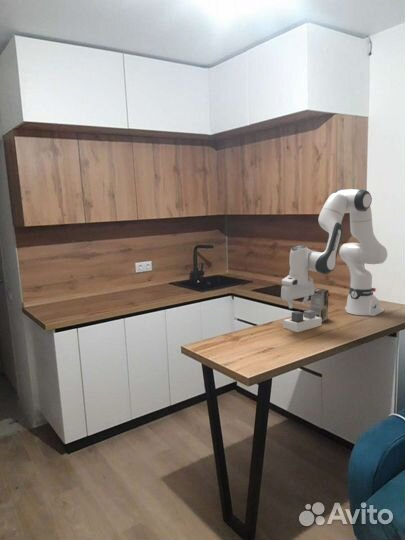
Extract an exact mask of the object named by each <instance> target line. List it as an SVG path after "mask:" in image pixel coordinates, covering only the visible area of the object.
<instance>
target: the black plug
mask: <svg viewBox="0 0 405 540" xmlns="http://www.w3.org/2000/svg"><path fill="white" fill-rule="evenodd" d="M303 315H304V311H303V312H301V311H299V310H296V311H292V312H291V318H292V320H291V321H293V322H297V323H299V322H303Z"/></svg>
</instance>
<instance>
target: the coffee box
mask: <svg viewBox="0 0 405 540" xmlns="http://www.w3.org/2000/svg"><path fill="white" fill-rule="evenodd" d="M309 304H310V308H309V310H311V311H314V312H315V316H317V317H320V318H322V323H323V322H325V321H326V320H328V318H329V317H328V315H329V289H325V288H319V287H318V288H314V294H313V295H310V303H309Z"/></svg>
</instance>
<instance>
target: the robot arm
mask: <svg viewBox="0 0 405 540" xmlns="http://www.w3.org/2000/svg"><path fill="white" fill-rule="evenodd" d="M372 199H373V198H372V195H371V193H370V191H368V190H366V189H355V188H349V189H336V190H333V192H331V194H330V195H329V196H328V198H327V199H326V201H325V202H324V204H323V206H322V209H321V211H320V213H319V216H318V224H319V227H320V228H321V229H322V230H324V231H325V232H326V233H328V239H327V244H326V247H325V250H324V251H323V252H321V251H317V250H312V249H310V248H308V246H307V245H302V244H301V245H295V246H293V247H291V248H290V252H289V258H288V259H289V273H288V275H287V276H285V277H284V278H282V279H281V284H282V285H281V288H280V289H281V290H280V298H281V300H283V301H286V302H287V303H288V309H295V308H294V303H292V302H293V300H297V299H301V298H303V300H302V301H301V303H302V304H301V305H303V306H307V305H308V300H309V298H310V297H311V295H313V294H314V290H315V284H314V278H312V276H308V275H309V273H308V272H309V271H311V272H316V273H320V274H322V275H329V274H330V273H332V272H333V271H334V270H335V269H336V265H337V258H338V253H339V257H340V259H341V260H343V262H344V263H345V264H346V266H347V267H348V270H349V274H350V286H349V288H348V290H349V292H348V293H349V294H348V295H347V300H346V306H345V307H344V310H345V311H346V313H348V314H351V315H357V316H372V317H376V316H378V315H379V314H381V313H383V312H384V311H385V309H384V308H382V307H380V306H381V301H380V299H379V298H377V297H376V295H374V292H376V291H377V288H375V287H372V283H373V274H372V273H371V271H369V270H367V269H366V268H365V266H364V265H365V264H366V265H380V264H384V263H385V262H386V260H387V258H388V251H387V248H386V247H385V246H384V245H383V244H381V243H380V242H379V241H378V239H377V237H376V235H375V233H374V227H373V215H372V208H371V205H372ZM346 212H349V226H350V234H351V236H353V238H355V239H357V240H358V241H359V242H347V243H343V244H342V245H341V241H342V238H343V233H344V227H343V224H342V221H343V220H344V219H343V218H344V216H345V213H346ZM340 245H341V246H340ZM309 296H310V297H309Z"/></svg>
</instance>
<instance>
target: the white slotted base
mask: <svg viewBox="0 0 405 540" xmlns="http://www.w3.org/2000/svg"><path fill="white" fill-rule="evenodd" d="M291 320H292V317H291V318H286V319H283V325H282V328H283V329H285V330H289V331H292V332H294V333H299V332H304V331H306V330H310V329H313V328H314V329H315V328H317V327H321V326H322V323H323V322H322V318H320V317H317V316H315V312H314V311H311V310H310V309H308V310H304V311H303V322H299V323H297V322H293V321H291Z"/></svg>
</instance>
